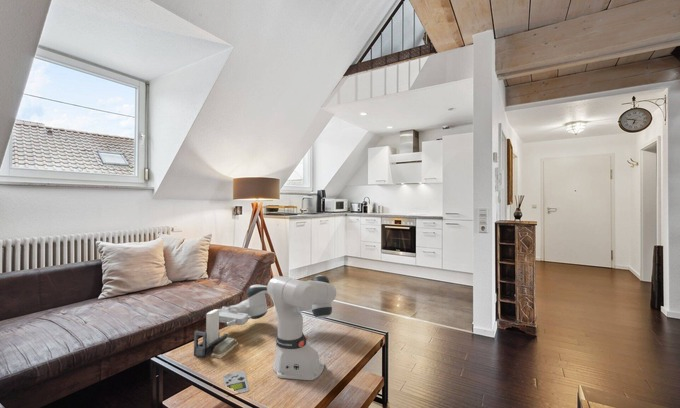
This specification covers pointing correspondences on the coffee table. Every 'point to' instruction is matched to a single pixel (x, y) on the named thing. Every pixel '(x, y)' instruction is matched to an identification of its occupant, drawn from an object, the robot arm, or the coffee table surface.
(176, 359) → the coffee table surface
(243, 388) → the handheld gaming device
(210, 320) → the white rectangular slab
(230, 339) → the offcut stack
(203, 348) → the slot rack
